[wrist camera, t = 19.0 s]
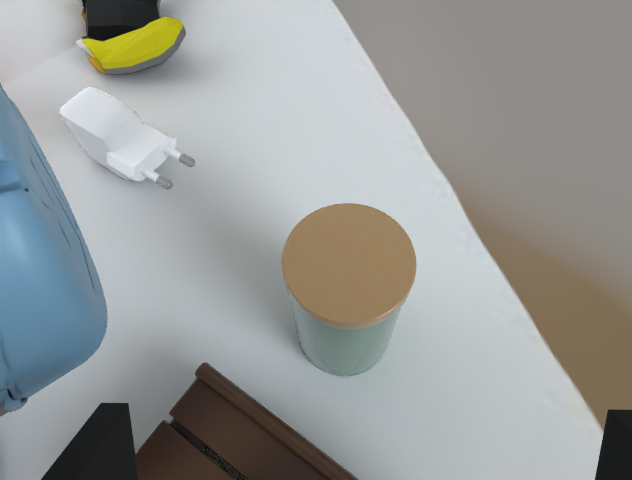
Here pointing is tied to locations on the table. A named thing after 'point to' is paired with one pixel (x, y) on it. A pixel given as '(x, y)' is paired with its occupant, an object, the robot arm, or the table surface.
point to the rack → (229, 439)
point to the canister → (347, 284)
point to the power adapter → (119, 137)
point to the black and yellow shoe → (128, 35)
